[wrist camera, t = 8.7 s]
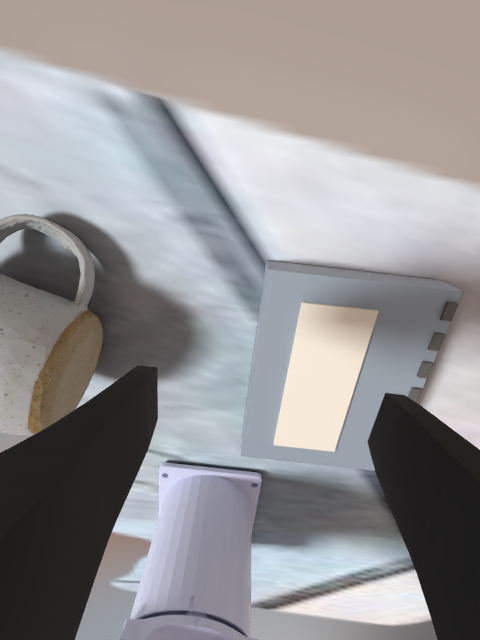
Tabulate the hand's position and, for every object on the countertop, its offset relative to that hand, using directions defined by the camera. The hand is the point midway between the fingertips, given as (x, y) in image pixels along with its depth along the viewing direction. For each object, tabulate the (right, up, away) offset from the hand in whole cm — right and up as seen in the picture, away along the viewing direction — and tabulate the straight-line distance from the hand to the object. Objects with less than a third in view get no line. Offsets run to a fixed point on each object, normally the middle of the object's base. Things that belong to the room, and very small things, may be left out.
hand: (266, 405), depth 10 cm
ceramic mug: (-13, +4, +9) cm, 17 cm away
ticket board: (+5, 0, +10) cm, 11 cm away
